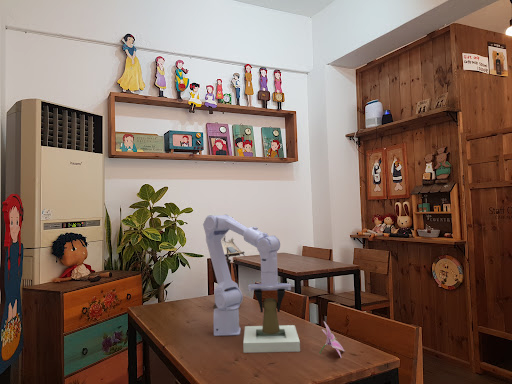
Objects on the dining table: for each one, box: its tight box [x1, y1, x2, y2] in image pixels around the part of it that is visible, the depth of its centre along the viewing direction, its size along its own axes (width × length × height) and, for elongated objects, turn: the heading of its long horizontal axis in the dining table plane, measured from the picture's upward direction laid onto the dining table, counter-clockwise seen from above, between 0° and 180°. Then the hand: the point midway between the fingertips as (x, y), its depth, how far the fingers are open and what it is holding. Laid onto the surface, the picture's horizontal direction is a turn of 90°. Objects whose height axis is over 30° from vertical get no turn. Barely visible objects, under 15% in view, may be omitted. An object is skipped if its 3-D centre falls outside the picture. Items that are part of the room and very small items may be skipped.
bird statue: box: [212, 235, 245, 310], centre depth 179 cm, size 17×13×35 cm
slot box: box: [242, 324, 301, 354], centre depth 131 cm, size 18×18×3 cm
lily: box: [319, 321, 346, 358], centre depth 119 cm, size 11×11×9 cm
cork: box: [262, 297, 280, 334], centre depth 132 cm, size 6×6×11 cm
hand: (270, 311), depth 131 cm, fingers closed on cork, 5 cm apart
